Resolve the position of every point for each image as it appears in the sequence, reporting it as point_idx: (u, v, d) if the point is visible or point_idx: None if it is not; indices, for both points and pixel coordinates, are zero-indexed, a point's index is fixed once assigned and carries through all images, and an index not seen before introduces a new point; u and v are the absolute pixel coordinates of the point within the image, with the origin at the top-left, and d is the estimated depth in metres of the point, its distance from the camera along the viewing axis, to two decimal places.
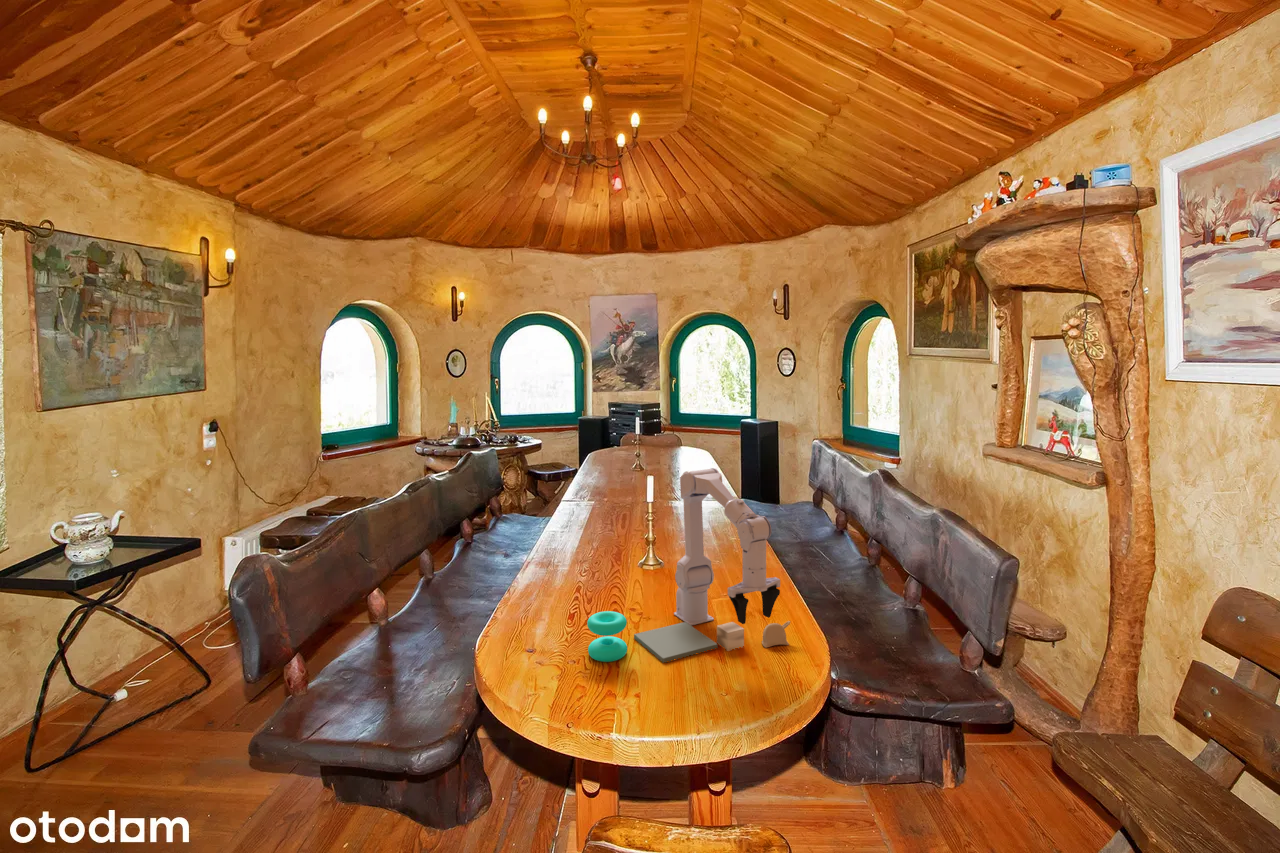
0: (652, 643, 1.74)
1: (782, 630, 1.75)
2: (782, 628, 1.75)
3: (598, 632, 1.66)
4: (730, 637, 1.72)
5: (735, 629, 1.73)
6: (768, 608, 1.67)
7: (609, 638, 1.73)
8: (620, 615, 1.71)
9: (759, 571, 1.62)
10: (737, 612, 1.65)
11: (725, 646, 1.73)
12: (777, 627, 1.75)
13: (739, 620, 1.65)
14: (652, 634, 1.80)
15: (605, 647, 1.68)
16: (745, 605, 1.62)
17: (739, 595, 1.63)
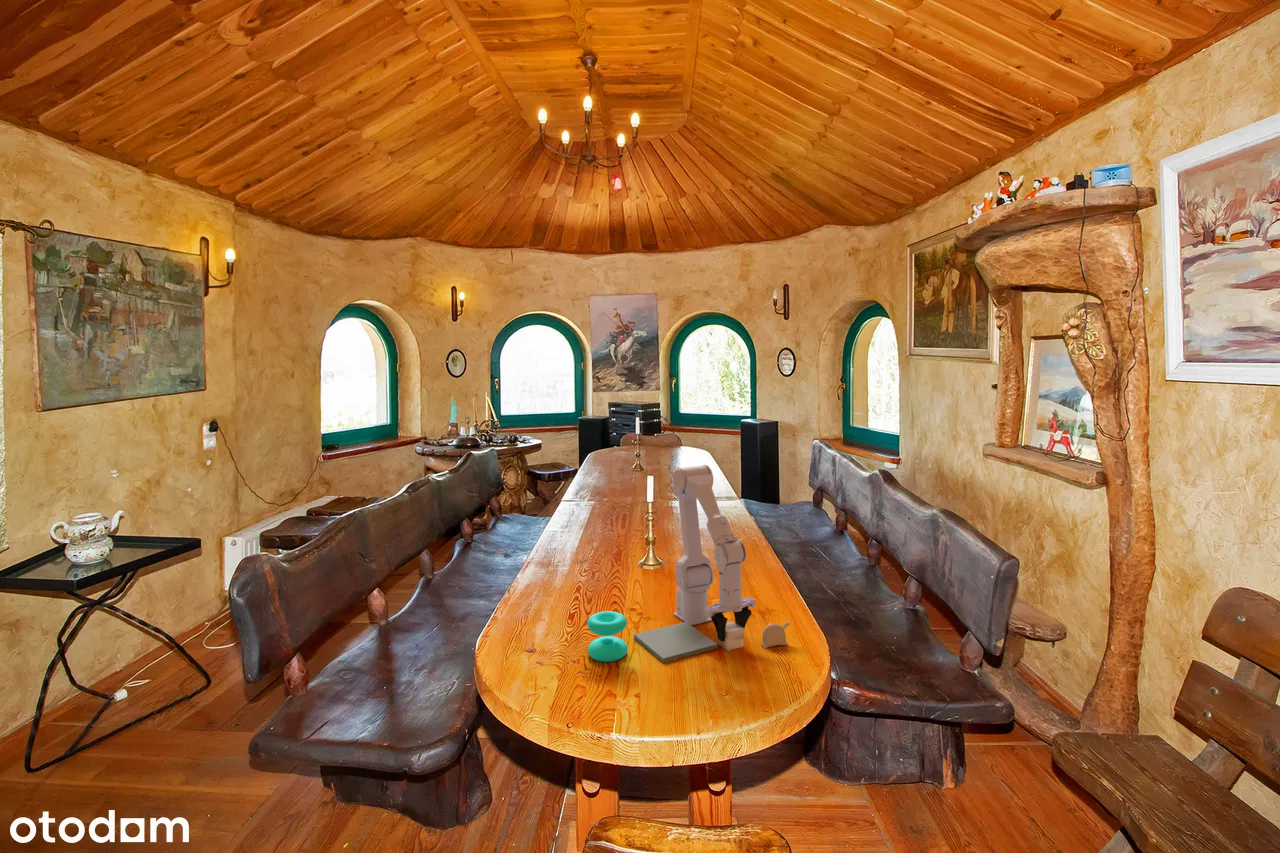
0: (652, 643, 1.74)
1: (782, 631, 1.75)
2: (782, 628, 1.75)
3: (598, 632, 1.66)
4: (730, 636, 1.72)
5: (735, 629, 1.73)
6: None
7: (609, 638, 1.73)
8: (620, 615, 1.71)
9: (734, 592, 1.71)
10: (717, 630, 1.74)
11: (725, 646, 1.73)
12: (777, 628, 1.74)
13: (719, 638, 1.74)
14: (652, 634, 1.80)
15: (605, 647, 1.68)
16: (724, 624, 1.71)
17: (719, 614, 1.72)
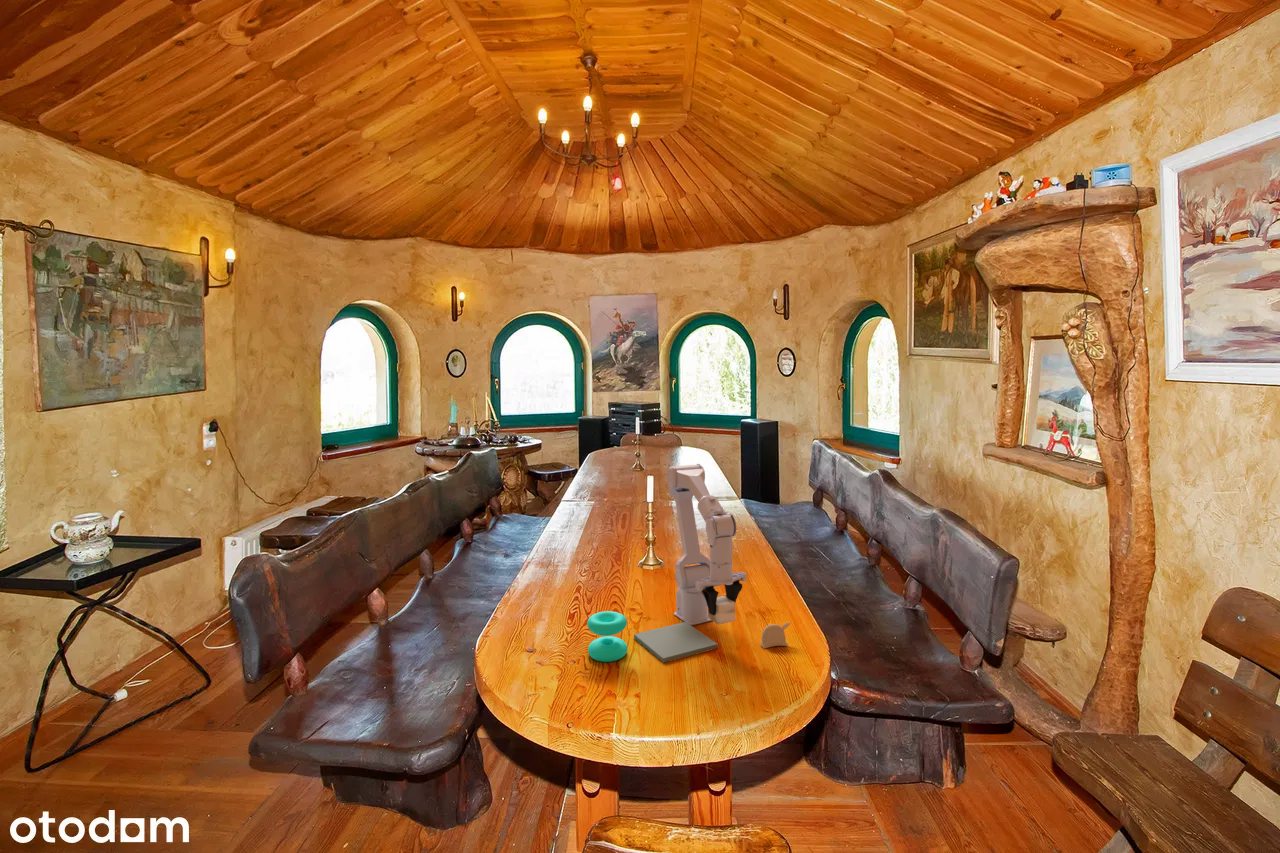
0: (652, 643, 1.74)
1: (781, 631, 1.74)
2: (781, 629, 1.74)
3: (598, 632, 1.66)
4: (721, 610, 1.71)
5: (726, 602, 1.73)
6: None
7: (609, 638, 1.73)
8: (620, 615, 1.71)
9: (725, 566, 1.70)
10: (708, 604, 1.73)
11: (716, 619, 1.72)
12: (776, 628, 1.74)
13: (710, 612, 1.73)
14: (652, 634, 1.80)
15: (605, 647, 1.68)
16: (715, 597, 1.71)
17: (710, 587, 1.71)
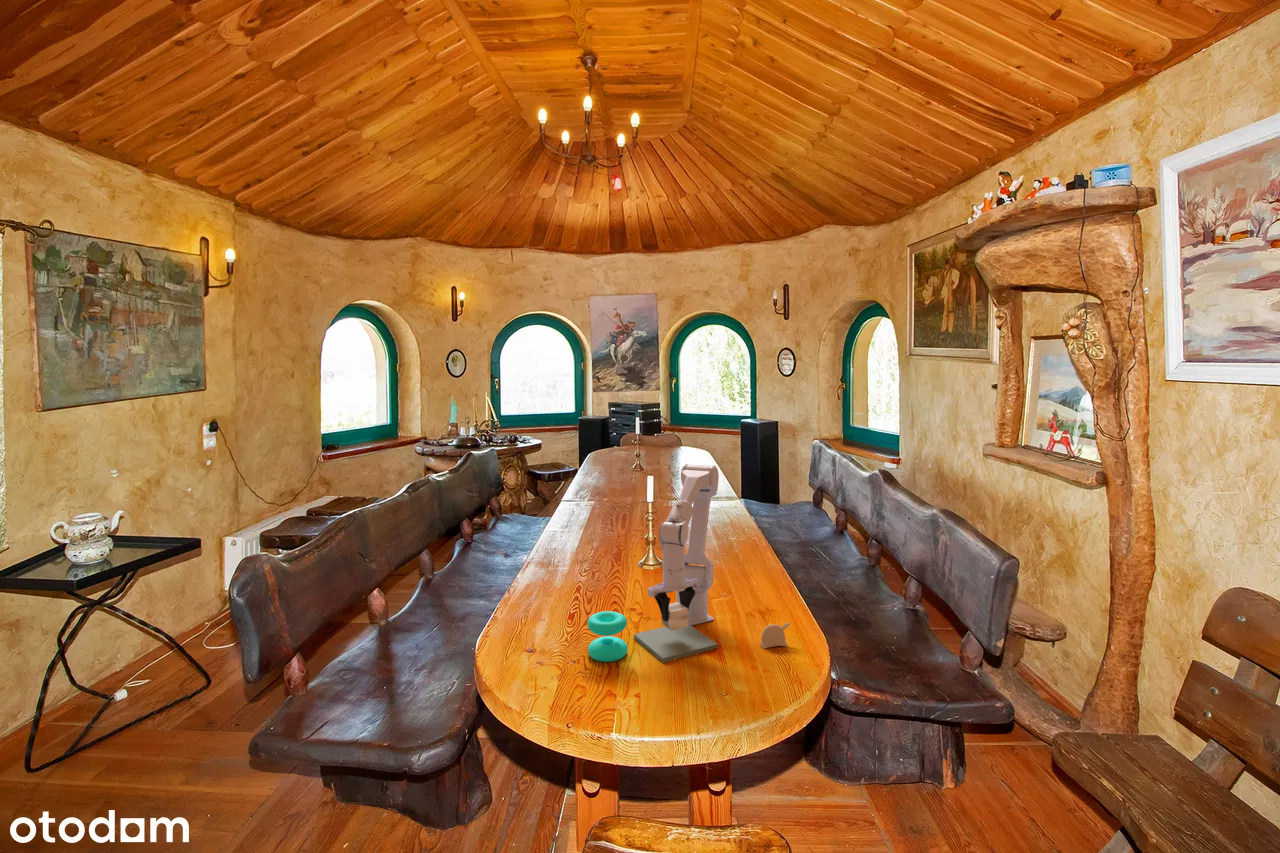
0: (652, 643, 1.74)
1: (781, 631, 1.74)
2: (781, 629, 1.74)
3: (598, 632, 1.66)
4: (673, 616, 1.73)
5: (678, 608, 1.74)
6: None
7: (609, 638, 1.73)
8: (620, 615, 1.71)
9: (677, 572, 1.72)
10: (661, 610, 1.75)
11: (669, 625, 1.74)
12: (776, 628, 1.74)
13: (663, 618, 1.75)
14: (652, 634, 1.80)
15: (605, 647, 1.68)
16: (667, 603, 1.72)
17: (662, 594, 1.73)
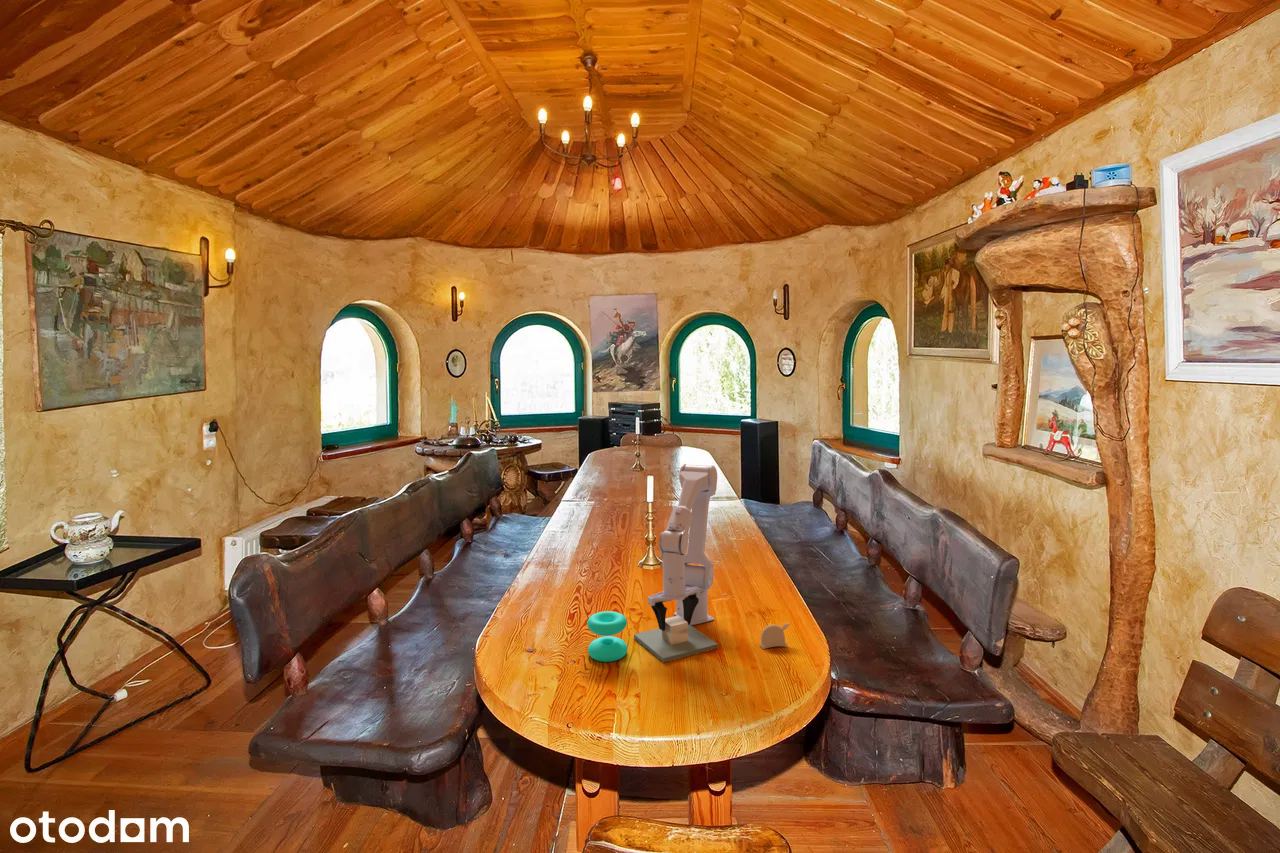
0: (652, 643, 1.74)
1: (781, 632, 1.74)
2: (781, 630, 1.74)
3: (598, 632, 1.66)
4: (673, 630, 1.73)
5: (679, 623, 1.75)
6: (688, 616, 1.77)
7: (609, 638, 1.73)
8: (620, 615, 1.71)
9: (677, 581, 1.72)
10: (658, 619, 1.75)
11: (669, 640, 1.74)
12: (776, 629, 1.74)
13: (659, 627, 1.75)
14: (652, 634, 1.80)
15: (605, 647, 1.68)
16: (664, 613, 1.72)
17: (659, 603, 1.72)
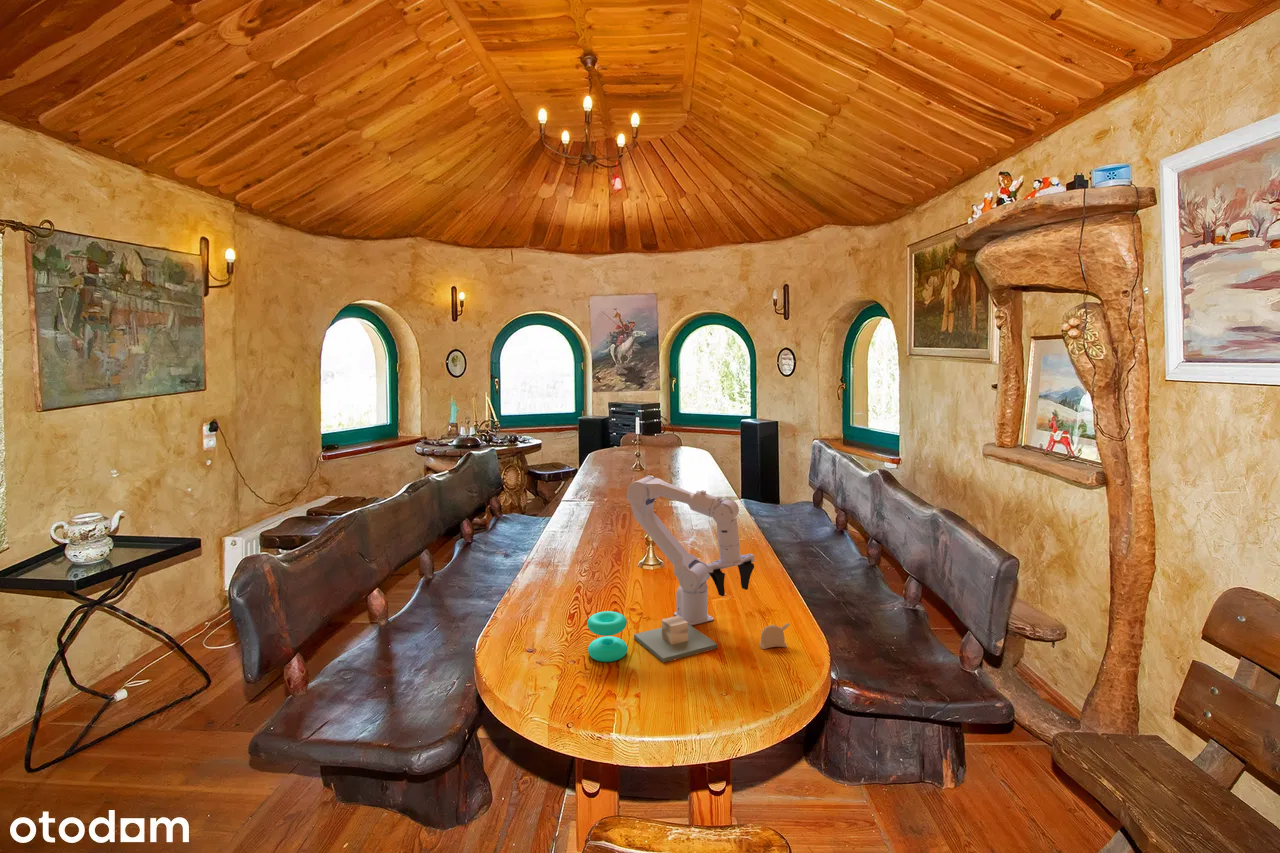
0: (652, 643, 1.74)
1: (780, 632, 1.74)
2: (780, 630, 1.74)
3: (598, 632, 1.66)
4: (673, 630, 1.73)
5: (679, 623, 1.75)
6: (745, 581, 1.87)
7: (609, 638, 1.73)
8: (620, 615, 1.71)
9: (732, 547, 1.83)
10: (717, 586, 1.85)
11: (669, 640, 1.74)
12: (775, 629, 1.74)
13: (719, 593, 1.85)
14: (652, 634, 1.80)
15: (605, 647, 1.68)
16: (722, 579, 1.82)
17: (717, 570, 1.83)
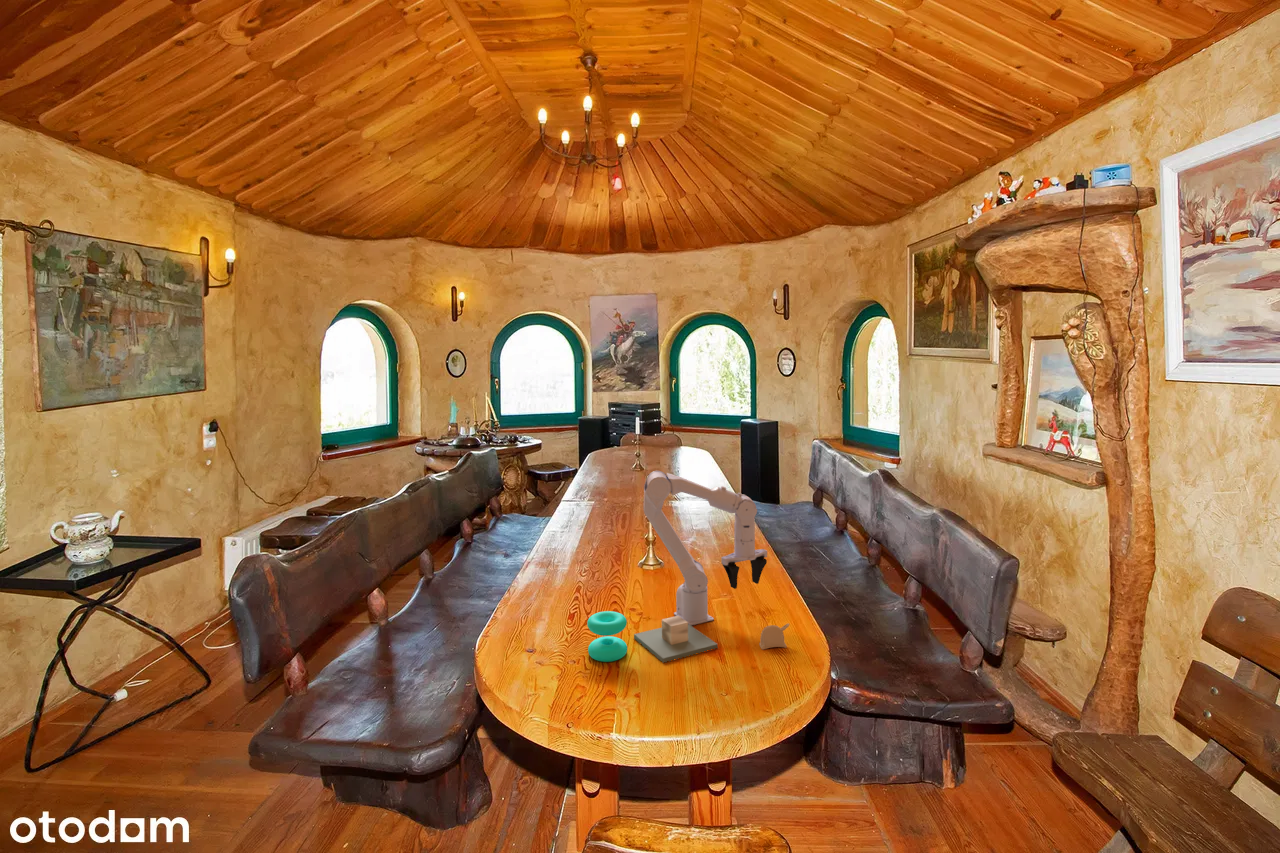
0: (652, 643, 1.74)
1: (780, 632, 1.73)
2: (780, 630, 1.74)
3: (598, 632, 1.66)
4: (673, 630, 1.73)
5: (679, 623, 1.75)
6: (756, 575, 1.92)
7: (609, 638, 1.73)
8: (620, 615, 1.71)
9: (748, 542, 1.88)
10: (729, 578, 1.90)
11: (669, 640, 1.74)
12: (775, 629, 1.73)
13: (731, 585, 1.90)
14: (652, 634, 1.80)
15: (605, 647, 1.68)
16: (736, 572, 1.88)
17: (732, 563, 1.88)
